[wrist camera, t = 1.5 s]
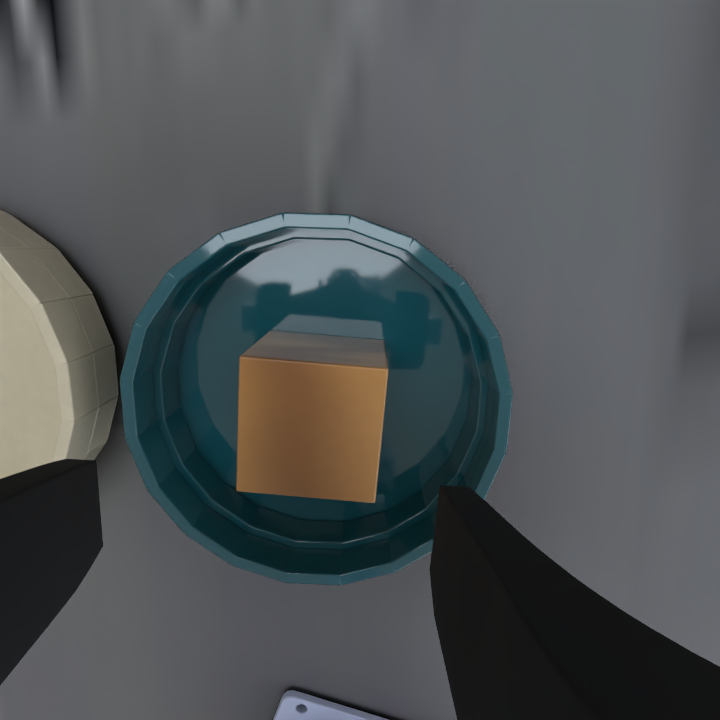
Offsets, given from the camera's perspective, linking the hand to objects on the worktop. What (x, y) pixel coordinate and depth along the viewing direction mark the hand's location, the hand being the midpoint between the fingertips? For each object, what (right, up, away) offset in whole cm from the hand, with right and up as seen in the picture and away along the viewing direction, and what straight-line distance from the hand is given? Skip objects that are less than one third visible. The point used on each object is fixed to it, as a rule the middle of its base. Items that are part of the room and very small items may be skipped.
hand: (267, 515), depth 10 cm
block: (0, +2, +9) cm, 9 cm away
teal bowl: (+1, +2, +9) cm, 10 cm away
